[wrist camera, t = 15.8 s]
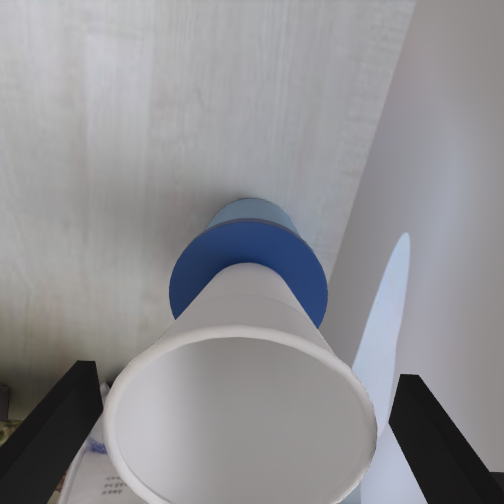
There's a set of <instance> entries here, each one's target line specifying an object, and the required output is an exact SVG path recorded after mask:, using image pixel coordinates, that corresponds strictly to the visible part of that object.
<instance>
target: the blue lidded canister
mask: <svg viewBox="0 0 504 504" xmlns="http://www.w3.org/2000/svg"><path fill="white" fill-rule="evenodd" d="M238 263H257V264H260V265H264V266H266V267H268V268H270V269H272V270H274V271H275V272H276V273H277V274H279V275H280V276H281V277H282V279H283V280H284V281H285V282H286V284H287V285H288V287H289V288H290V290H291V291H292V293H293V294H294V296H295V297H296V299H297V300H298V302H299V303H300V305H301V306H302V308H303V309H304V311H305V312H306V313H307V315H308V316H309V318H310V320H311V321H312V322H313V324H314V325H315V326H316V328H317V329H318V328H319V326H320V324H321V322H322V320H323V317H324V314H325V312H326V306H327V300H328V289H327V281H326V277H325V274H324V271H323V269H322V266H321V264H320V263H319V261H318V259H317V257H316V256H315V254H314V252H313V251H312V249H311V248H310V247H309V246H308V244H307V243H306V242H305V241H304V240H303V239H302V238H301V237H300V235H299V233H298V231H297V230H296V228H295V226H294V224H293V222H292V221H291V219H290V218H289V216H288V215H287V214H286V213H285V212H284V211H283V210H282V209H281V208H279V207H278V206H277V205H275V204H273V203H271V202H268V201H266V200H261V199H254V198H249V199H241V200H238V201H235V202H232V203H230V204H228V205H227V206H225V207H224V208H222V209H221V210H220V211H219V212H218V213H217V214H216V215H215V217H214V218H213V219H212V221H211V222H210V223H209V225H208V226H207V227H206V229H205V230H204V231H203V232H202V233H201V234H199V235H198V236H197V237H196V238H195V239H194V240H193V241H192V242H191V243H190V244H189V245H188V246H187V248H186V249H185V250H184V251H183V253H182V254H181V256H180V257H179V259H178V260H177V263H176V265H175V267H174V269H173V272H172V275H171V279H170V286H169V299H170V306H171V310H172V313H173V316H174V318H175V320H176V319H177V318H178V317H179V316H180V315H181V314H182V313H183V312H184V310H185V309H186V308H187V307H188V306H189V305H190V304H191V303H192V301H193V300H194V299H195V298H196V297H197V296H198V295H199V294H200V292H201V291H202V290H203V289H204V288H205V287H206V286H207V284H208V283H209V282H210V281H211V280H212V279H213V278H214V277H215V275H216V274H217V273H219V272H220V271H221V270H223V269H225V268H227V267H229V266H231V265H234V264H238Z"/></svg>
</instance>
